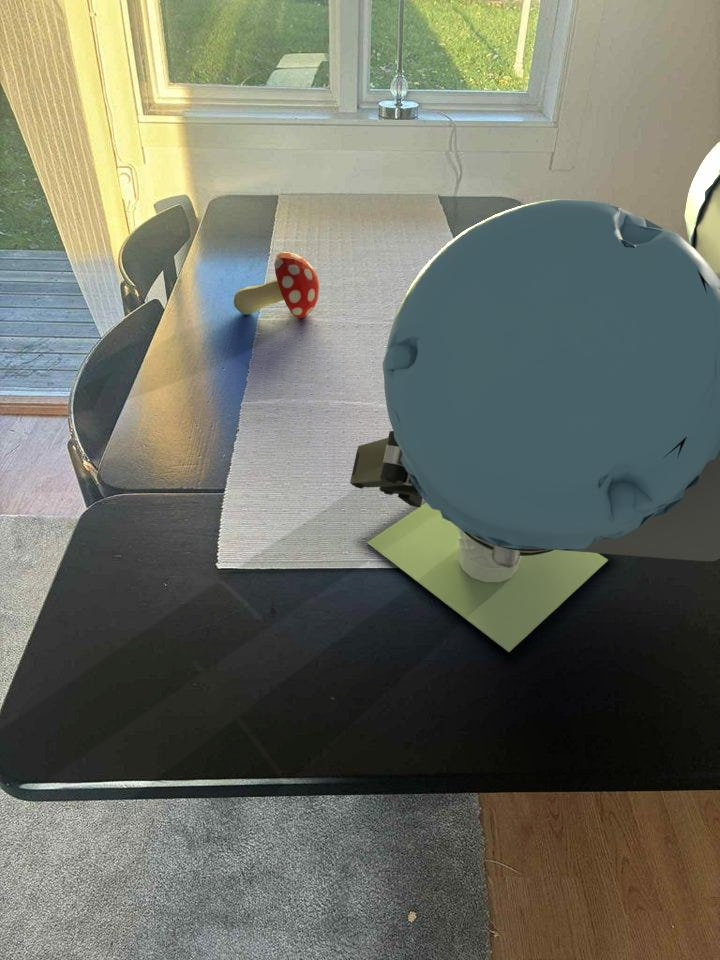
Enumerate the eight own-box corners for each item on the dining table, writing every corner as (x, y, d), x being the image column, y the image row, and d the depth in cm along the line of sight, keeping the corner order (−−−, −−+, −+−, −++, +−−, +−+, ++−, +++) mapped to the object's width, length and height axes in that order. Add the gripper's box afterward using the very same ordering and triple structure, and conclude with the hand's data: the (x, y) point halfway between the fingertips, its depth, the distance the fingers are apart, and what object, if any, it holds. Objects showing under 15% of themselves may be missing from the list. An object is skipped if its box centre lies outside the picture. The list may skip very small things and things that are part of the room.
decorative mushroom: (212, 268, 113) (298, 237, 110) (236, 277, 124) (315, 249, 120) (233, 335, 114) (319, 306, 111) (255, 338, 125) (333, 312, 122)
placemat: (608, 560, 78) (608, 559, 78) (508, 652, 68) (509, 652, 68) (469, 473, 89) (469, 473, 88) (366, 543, 79) (366, 542, 79)
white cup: (437, 556, 78) (446, 489, 71) (485, 525, 81) (498, 458, 75) (490, 599, 73) (505, 532, 66) (538, 564, 77) (557, 497, 70)
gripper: (226, 493, 31) (334, 523, 52) (842, 623, 26) (689, 598, 47) (263, 333, 32) (355, 425, 53) (873, 427, 27) (708, 489, 47)
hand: (512, 507), depth 50 cm, fingers open, 13 cm apart
